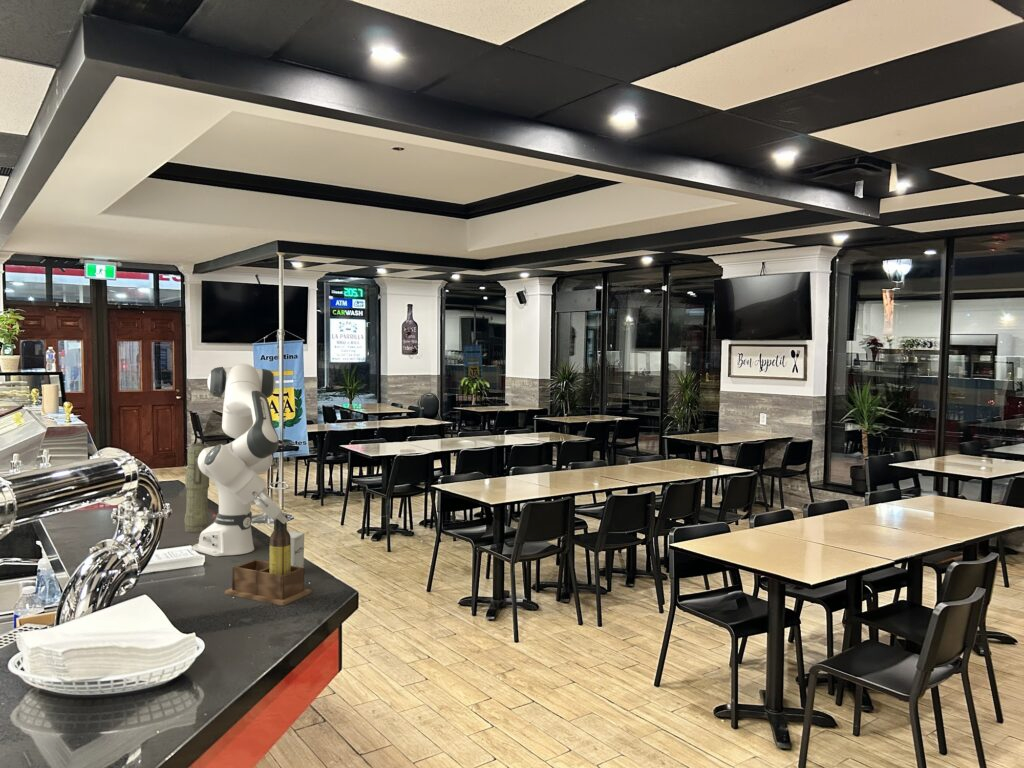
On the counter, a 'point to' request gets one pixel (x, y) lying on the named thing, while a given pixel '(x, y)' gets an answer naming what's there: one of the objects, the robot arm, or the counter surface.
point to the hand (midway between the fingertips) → (283, 519)
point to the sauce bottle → (280, 549)
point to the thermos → (196, 492)
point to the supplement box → (297, 549)
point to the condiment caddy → (267, 583)
